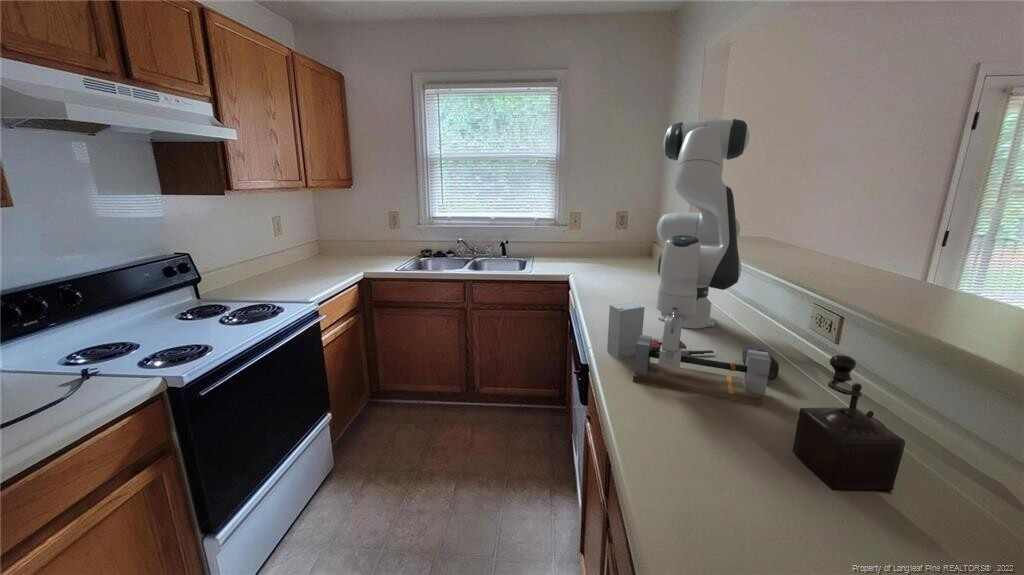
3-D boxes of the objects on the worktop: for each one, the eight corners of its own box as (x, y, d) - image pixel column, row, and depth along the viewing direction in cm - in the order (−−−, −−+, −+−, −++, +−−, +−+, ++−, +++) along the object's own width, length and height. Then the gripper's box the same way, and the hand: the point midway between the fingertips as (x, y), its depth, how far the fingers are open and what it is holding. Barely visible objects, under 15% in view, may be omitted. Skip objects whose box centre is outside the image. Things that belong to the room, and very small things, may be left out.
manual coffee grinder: (899, 492, 67) (928, 391, 62) (831, 491, 67) (854, 391, 62) (828, 435, 82) (847, 351, 77) (773, 435, 82) (788, 350, 77)
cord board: (637, 365, 113) (640, 331, 110) (759, 386, 101) (766, 348, 99) (632, 381, 104) (635, 343, 101) (765, 406, 92) (772, 364, 90)
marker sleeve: (659, 359, 107) (661, 345, 106) (680, 363, 105) (681, 348, 104) (658, 365, 103) (659, 350, 102) (679, 369, 101) (681, 354, 100)
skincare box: (629, 347, 125) (633, 300, 121) (641, 355, 119) (646, 306, 116) (605, 351, 122) (608, 303, 118) (617, 359, 117) (620, 309, 113)
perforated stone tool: (734, 360, 117) (738, 337, 115) (754, 361, 116) (758, 338, 114) (755, 384, 103) (759, 358, 101) (778, 386, 102) (783, 360, 100)
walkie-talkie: (647, 359, 118) (714, 357, 119) (648, 345, 117) (716, 343, 118) (636, 347, 126) (699, 346, 128) (637, 334, 125) (700, 332, 126)
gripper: (689, 317, 90) (682, 375, 93) (690, 295, 108) (684, 344, 111) (658, 313, 92) (653, 370, 95) (665, 292, 110) (660, 340, 114)
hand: (670, 356), depth 103 cm, fingers open, 8 cm apart
